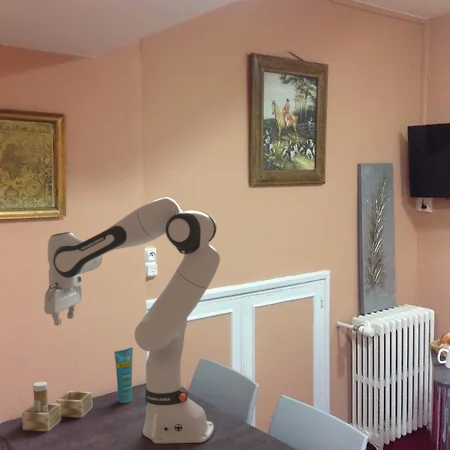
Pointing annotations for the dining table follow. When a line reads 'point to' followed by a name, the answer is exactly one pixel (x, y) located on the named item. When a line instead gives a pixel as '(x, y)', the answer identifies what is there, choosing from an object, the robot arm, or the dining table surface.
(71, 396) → the open wooden box
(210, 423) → the robot arm
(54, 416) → the open square wooden box
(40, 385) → the sprinkles bottle
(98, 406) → the dining table surface
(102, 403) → the dining table surface
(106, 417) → the dining table surface
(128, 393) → the tube
